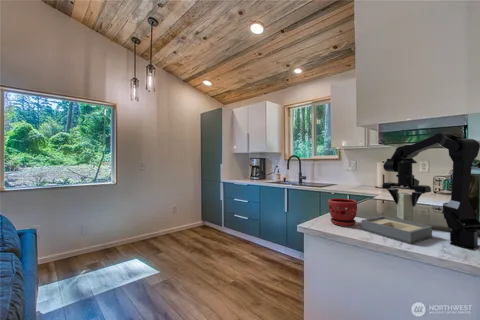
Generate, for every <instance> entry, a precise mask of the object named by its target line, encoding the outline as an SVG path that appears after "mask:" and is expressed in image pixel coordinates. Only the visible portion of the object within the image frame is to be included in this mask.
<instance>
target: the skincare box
mask: <svg viewBox="0 0 480 320" xmlns="http://www.w3.org/2000/svg"><path fill="white" fill-rule="evenodd" d="M396 205H397V207H396V208H397V209H396V210H397V211H396V214H397V216H396V217H397V219H400V220H404V221H410V222H413V221H414V207H413V204H412V193H407V192H398V193H397V204H396Z"/></svg>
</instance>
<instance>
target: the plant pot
mask: <svg viewBox="0 0 480 320" xmlns="http://www.w3.org/2000/svg"><path fill="white" fill-rule="evenodd" d="M327 202H328V211H329V215H330V216H331V218H330V219H329V220H330V222H331V223H332V224H333V225H337V226H341V227H342V226H343V227H351V226H354V225H355V224H356V222H357V221H356V219H355V218H356V216H357V212H358V202H357V200H355V199H349V198H329V199H328V201H327Z"/></svg>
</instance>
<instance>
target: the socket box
mask: <svg viewBox="0 0 480 320" xmlns="http://www.w3.org/2000/svg"><path fill="white" fill-rule="evenodd" d="M361 231H364V232H368V233H370V234H374V235H377V236H381V237H385V238H387V239H390V240H394V241H397V242H401V243H405V244H407V245H413V244H416V243H419V242H423V241H425V240H429V239H432V238H433V226H431V225H426V224H422V223H417V222H413V221H410V220H402V219H400V218H393V217H390V216H385V215H380V216H375V217H369V218H365V219H361Z"/></svg>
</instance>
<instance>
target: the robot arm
mask: <svg viewBox="0 0 480 320" xmlns="http://www.w3.org/2000/svg"><path fill="white" fill-rule="evenodd" d="M438 146H441V147H442V148H445V149H447V151H448V156H449V158H450V159H451V161H452V163H453V165H452V177H451V178H452V179H451V190H450V191H451V192H450V200H449V201H448V202H443V203H442V211H441V213H442V214H443V218H444V220H445V222H446V224H447V228H448V229H451V230H450V231H449V238H450V239H449V241H450V242H449V244H450V245H452V246H455V247H459V248H460V247H461V248H463V249H468V250H471V251H472V250H474V251H475V250H477V249H478V248H480V245H479V242H478V241H479V240H478V239H479V236H478V234H479V231H480V221H479V219H477V217H476V216H475V213H474V212H475V211H474V208H473V206H472V205H471V203H470V193H471V192H470V191H471V189H470V188H471V180H472V178H471V177H472V167H473V166H472V164H473V162H474V161H475V159H477V157H478V156H479V155H478V154H479V151H480V142H479V141H477V140H476V139H473V138H465V137H462V136H458V135H454V134H451V133H449V132H437V133H435V134H434V135H431V136H429V137H427V138H425V139H422V140H419V141H417V142H415V143H412V144H406V145H401V146H398V147H396V148H395V151H394V152H393V154H392V156H391V158H386V161H385V162H384V163H383V165H382V166H383V170H384V171H386V172H390V173H397V174H396V178H397V182H392V181H391V182H387V181H386V182H382V185H381V188H382V189H386V191H387V192H388V193H389V194H390V195H391V197H392V199H393V201H394V203H395V204H396V205H397V193H399V190H400V189H401V190H413V191H412V192H411V194H412V204H413V208H414V207H416V205H417V203H418V201H419V199H420V197H421V196H422V195H424V194H426V193H432V187H431V186H430V185H425V184H424V185H423V184H420V180H419V179H417V178H415V175H414V174H413V164H417V161H416V160H415V159H414V158H415V157H417V156H418V155H419V154H420V153H421V152H424V151H427V150H429V149H433V148H434V147H435V148H436V147H438Z"/></svg>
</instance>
